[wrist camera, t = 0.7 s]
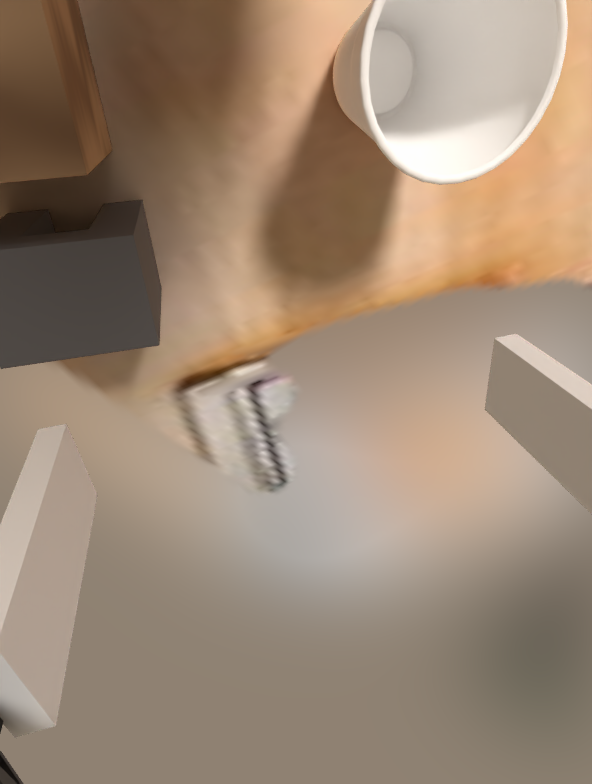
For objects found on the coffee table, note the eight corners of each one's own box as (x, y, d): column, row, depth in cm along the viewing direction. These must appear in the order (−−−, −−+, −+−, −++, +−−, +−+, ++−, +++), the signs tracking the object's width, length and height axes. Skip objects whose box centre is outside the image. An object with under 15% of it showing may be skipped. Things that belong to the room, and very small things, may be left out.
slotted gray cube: (7, 213, 30) (-50, 255, 22) (142, 200, 31) (133, 235, 23) (40, 304, 33) (0, 368, 25) (161, 288, 35) (159, 345, 27)
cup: (343, 189, 34) (408, 224, 25) (271, 34, 28) (320, 6, 19) (469, 107, 33) (585, 112, 24) (419, -70, 27) (544, -151, 18)
